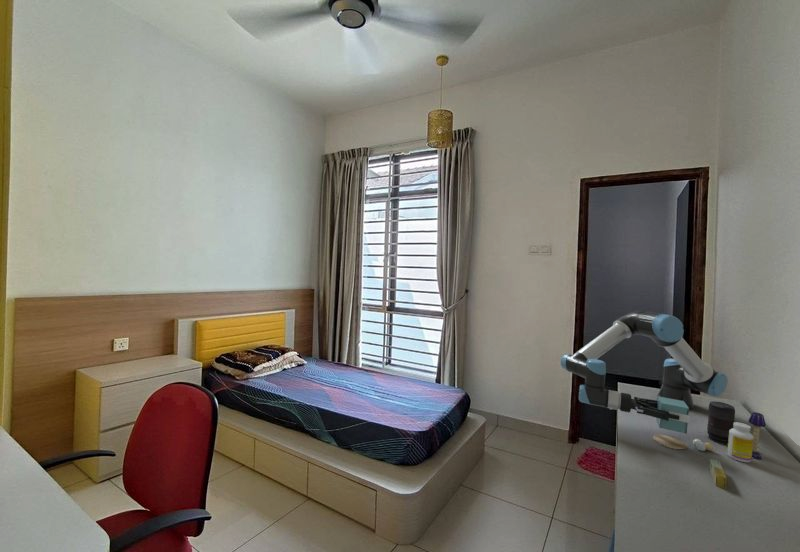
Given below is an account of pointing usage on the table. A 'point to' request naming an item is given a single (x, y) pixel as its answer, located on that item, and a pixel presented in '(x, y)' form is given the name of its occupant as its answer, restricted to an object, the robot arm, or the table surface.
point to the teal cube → (672, 406)
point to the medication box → (718, 473)
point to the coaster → (670, 441)
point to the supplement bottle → (740, 442)
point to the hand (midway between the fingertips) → (686, 414)
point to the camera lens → (720, 421)
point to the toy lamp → (756, 432)
